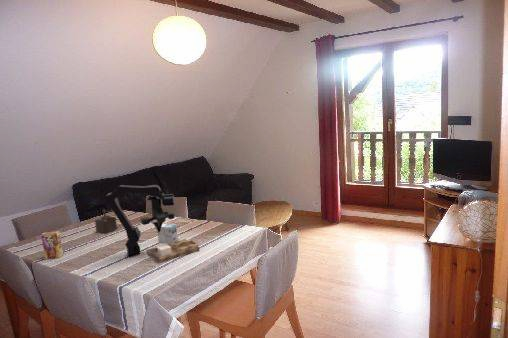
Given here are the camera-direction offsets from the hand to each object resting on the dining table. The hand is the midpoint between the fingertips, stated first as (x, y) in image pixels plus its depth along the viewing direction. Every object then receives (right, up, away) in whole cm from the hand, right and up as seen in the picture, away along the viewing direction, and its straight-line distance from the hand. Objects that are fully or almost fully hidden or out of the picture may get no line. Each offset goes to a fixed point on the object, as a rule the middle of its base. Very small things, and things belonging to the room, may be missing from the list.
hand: (158, 232), depth 210 cm
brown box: (-48, -7, +49) cm, 69 cm away
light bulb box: (+1, -9, +18) cm, 20 cm away
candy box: (-64, -16, +4) cm, 66 cm away
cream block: (+6, -11, -8) cm, 14 cm away
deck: (+8, -11, -1) cm, 14 cm away
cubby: (+16, -9, -1) cm, 18 cm away
